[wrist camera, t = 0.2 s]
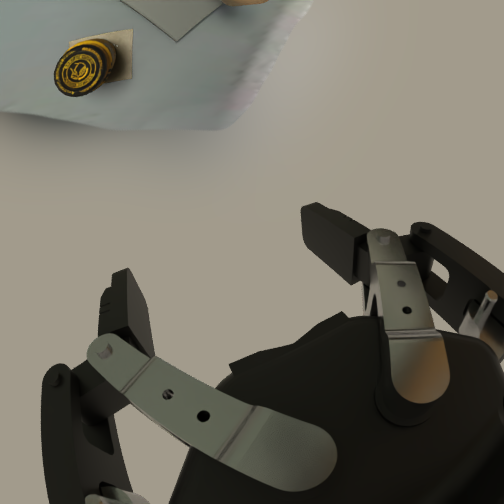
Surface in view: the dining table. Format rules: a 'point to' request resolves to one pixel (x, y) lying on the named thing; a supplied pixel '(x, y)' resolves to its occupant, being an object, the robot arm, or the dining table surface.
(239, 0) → the cream maraca
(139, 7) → the board
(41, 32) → the dining table surface
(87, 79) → the condiment
